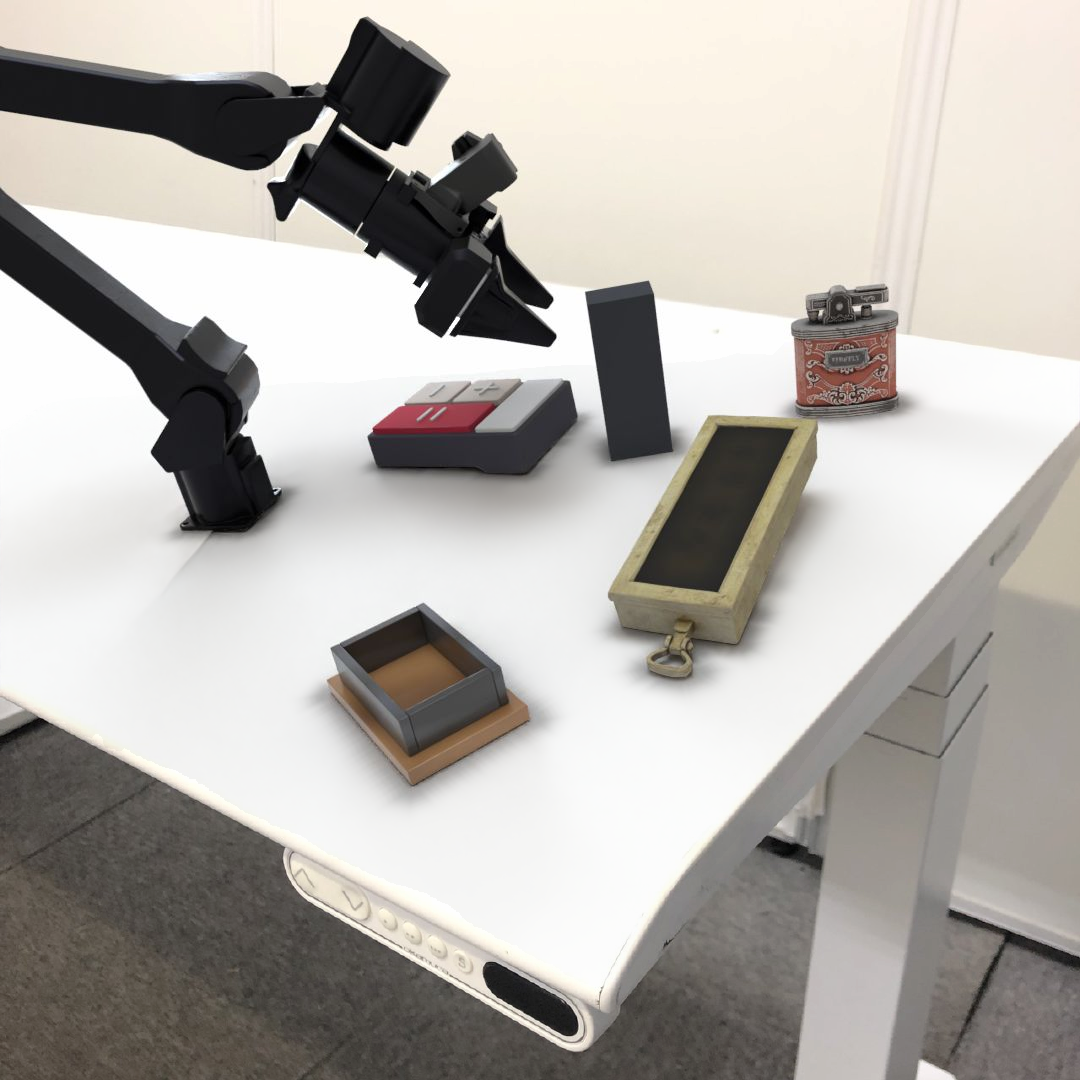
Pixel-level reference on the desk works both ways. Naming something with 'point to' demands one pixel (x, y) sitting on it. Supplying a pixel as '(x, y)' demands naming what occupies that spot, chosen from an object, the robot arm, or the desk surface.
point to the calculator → (476, 425)
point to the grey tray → (423, 691)
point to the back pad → (630, 369)
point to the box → (715, 533)
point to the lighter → (845, 354)
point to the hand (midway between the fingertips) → (552, 321)
